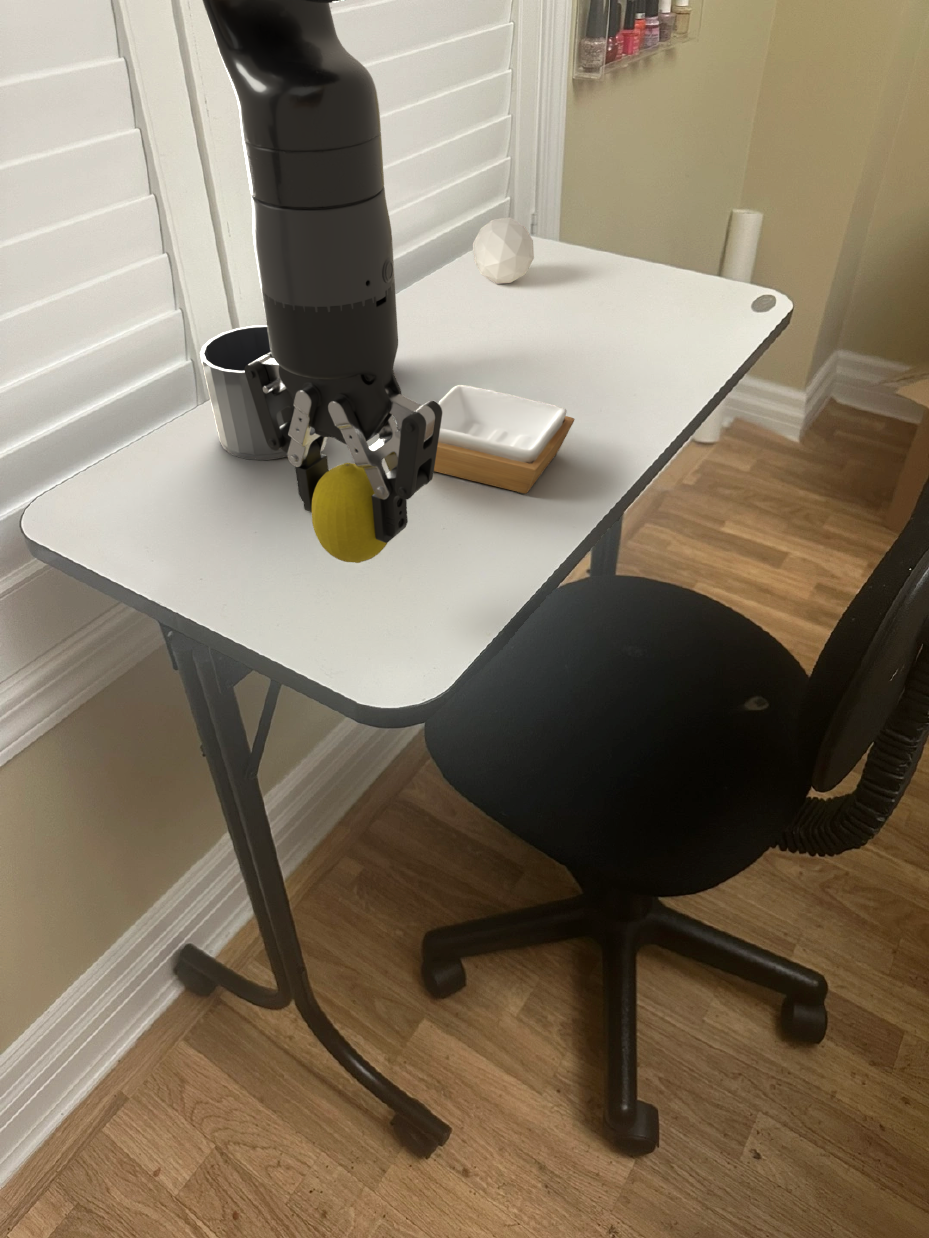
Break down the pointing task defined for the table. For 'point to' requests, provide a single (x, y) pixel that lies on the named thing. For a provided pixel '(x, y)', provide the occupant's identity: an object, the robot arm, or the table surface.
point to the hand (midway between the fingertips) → (353, 520)
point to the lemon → (345, 514)
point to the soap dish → (498, 437)
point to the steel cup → (237, 391)
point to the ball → (503, 250)
